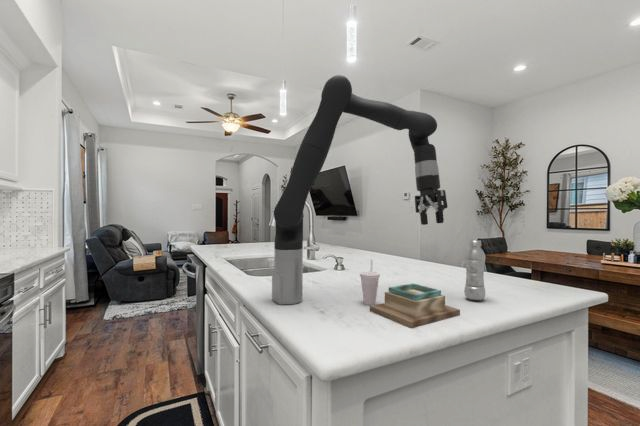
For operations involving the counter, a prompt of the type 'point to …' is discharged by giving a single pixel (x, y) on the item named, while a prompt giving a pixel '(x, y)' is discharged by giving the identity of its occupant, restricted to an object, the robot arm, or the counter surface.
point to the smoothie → (369, 286)
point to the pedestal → (414, 305)
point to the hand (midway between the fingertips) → (432, 223)
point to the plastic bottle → (475, 271)
